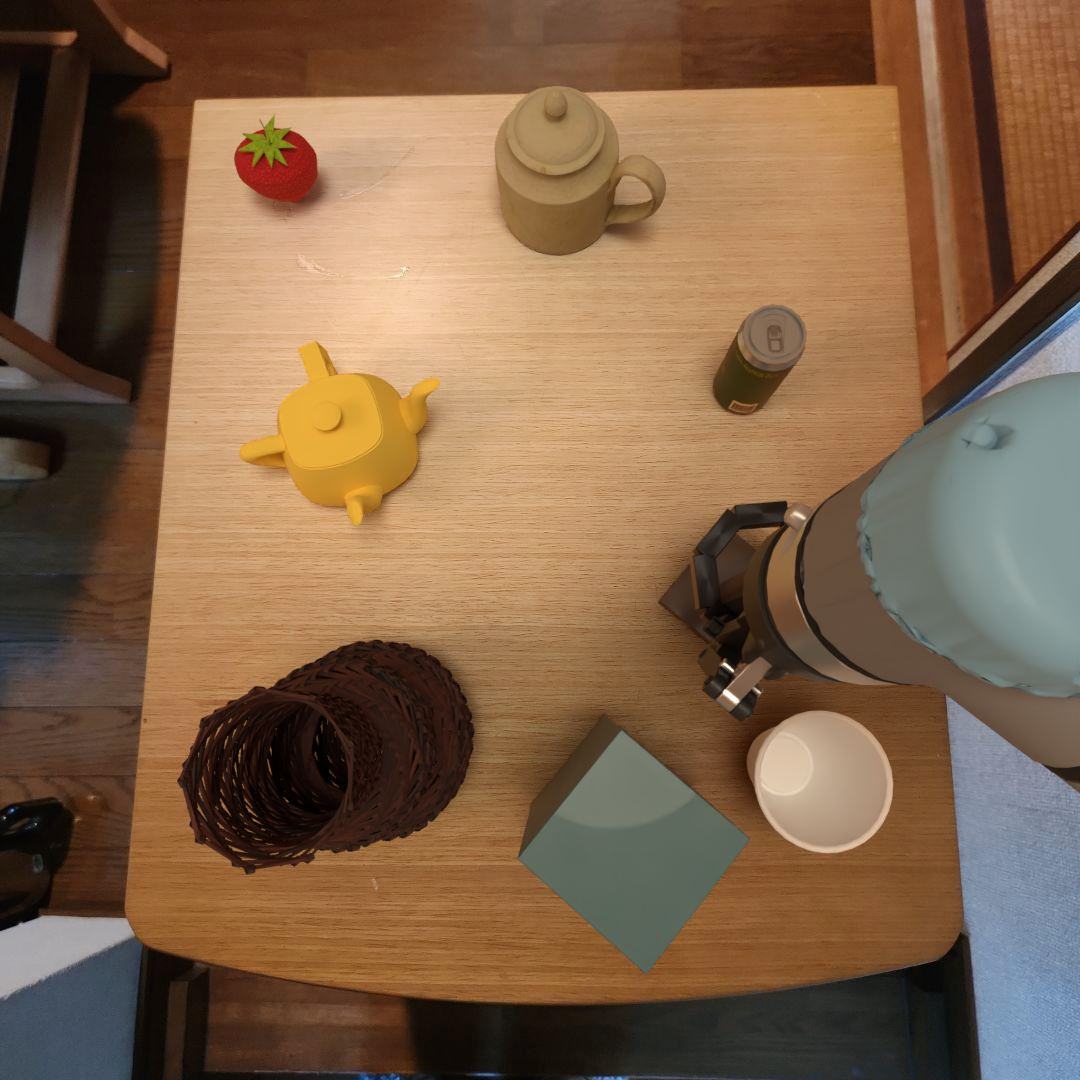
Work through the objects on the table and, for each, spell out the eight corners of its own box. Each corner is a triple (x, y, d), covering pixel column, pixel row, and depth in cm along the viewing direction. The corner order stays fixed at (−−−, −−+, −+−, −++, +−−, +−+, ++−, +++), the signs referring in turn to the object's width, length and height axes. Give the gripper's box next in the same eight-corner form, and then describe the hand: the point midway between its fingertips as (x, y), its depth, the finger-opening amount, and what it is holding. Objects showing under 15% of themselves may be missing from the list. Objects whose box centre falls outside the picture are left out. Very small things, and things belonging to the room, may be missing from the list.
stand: (695, 790, 66) (750, 839, 47) (621, 884, 65) (646, 975, 46) (604, 712, 68) (621, 729, 48) (530, 804, 67) (517, 858, 47)
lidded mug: (652, 151, 77) (673, 27, 62) (655, 255, 75) (677, 152, 60) (501, 154, 77) (487, 32, 62) (501, 257, 75) (486, 156, 60)
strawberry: (258, 174, 78) (213, 101, 68) (333, 167, 78) (299, 94, 68) (258, 228, 77) (213, 162, 67) (334, 221, 76) (300, 154, 67)
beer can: (771, 415, 72) (812, 365, 60) (713, 417, 72) (742, 367, 60) (767, 360, 73) (806, 300, 61) (709, 362, 73) (738, 302, 61)
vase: (484, 643, 69) (426, 622, 39) (480, 824, 66) (415, 946, 37) (313, 641, 70) (129, 619, 40) (303, 821, 67) (97, 939, 37)
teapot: (385, 546, 71) (356, 526, 61) (260, 480, 72) (213, 450, 62) (457, 417, 73) (441, 378, 63) (334, 356, 74) (299, 308, 64)
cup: (857, 734, 67) (914, 746, 56) (814, 844, 65) (864, 878, 55) (749, 685, 68) (785, 687, 57) (705, 792, 66) (733, 815, 56)
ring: (867, 569, 56) (876, 566, 55) (779, 682, 55) (785, 682, 53) (751, 478, 58) (756, 473, 56) (662, 586, 56) (665, 584, 55)
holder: (800, 589, 69) (856, 569, 56) (738, 668, 68) (780, 666, 55) (719, 526, 70) (756, 491, 57) (657, 602, 69) (679, 585, 56)
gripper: (885, 401, 33) (751, 513, 56) (669, 669, 31) (623, 670, 54) (1035, 512, 32) (836, 579, 55) (820, 794, 30) (708, 741, 54)
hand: (730, 624), depth 55 cm, fingers closed on ring, 2 cm apart
